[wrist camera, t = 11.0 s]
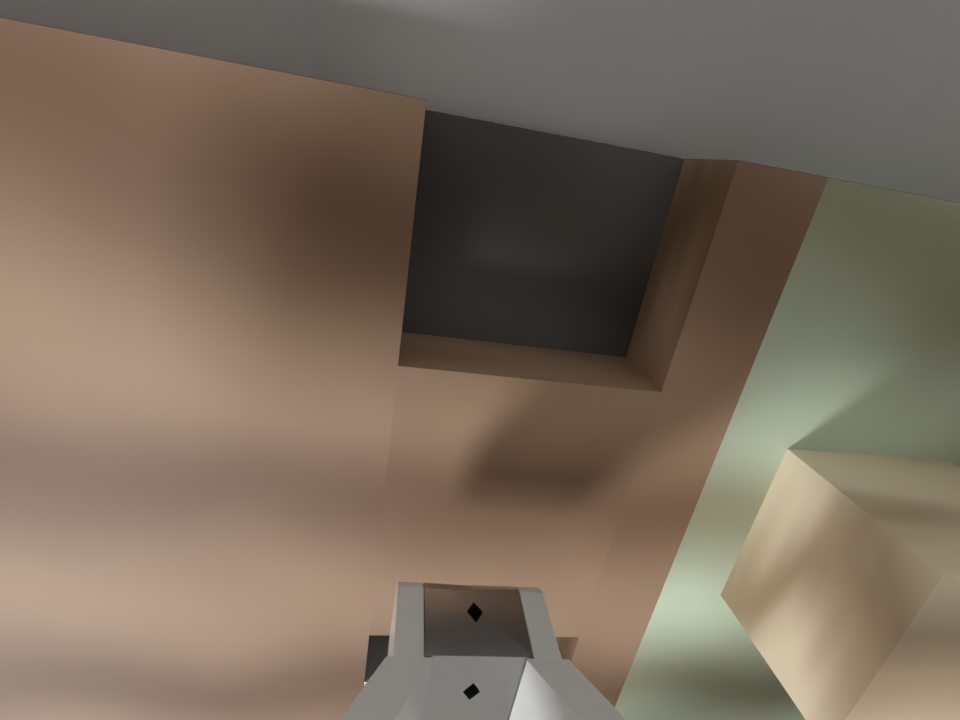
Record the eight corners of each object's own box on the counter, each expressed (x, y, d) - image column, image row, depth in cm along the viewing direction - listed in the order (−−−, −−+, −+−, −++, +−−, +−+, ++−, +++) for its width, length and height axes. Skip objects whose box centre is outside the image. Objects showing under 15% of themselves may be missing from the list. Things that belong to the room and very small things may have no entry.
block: (866, 597, 15) (1011, 741, 11) (720, 594, 14) (825, 749, 10) (950, 461, 13) (1155, 580, 9) (787, 448, 12) (943, 574, 9)
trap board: (784, 669, 20) (937, 885, 14) (47, 671, 16) (-181, 989, 10) (1039, 227, 13) (1529, 286, 8) (-119, 8, 9) (-1185, -276, 3)
